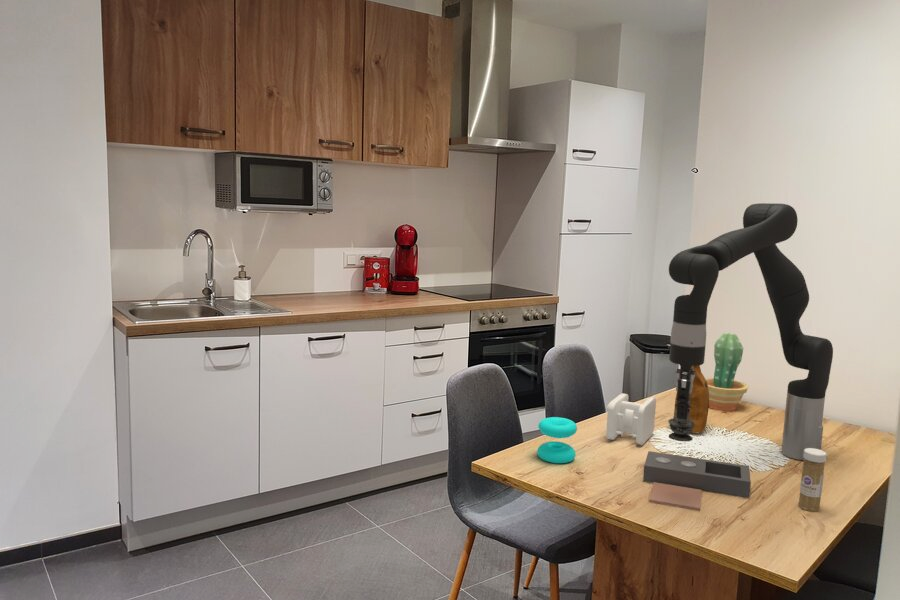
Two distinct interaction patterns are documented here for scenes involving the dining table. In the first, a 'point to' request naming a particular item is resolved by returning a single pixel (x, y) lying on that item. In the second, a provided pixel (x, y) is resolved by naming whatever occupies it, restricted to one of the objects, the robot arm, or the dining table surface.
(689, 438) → the dark chess piece
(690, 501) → the tile pad
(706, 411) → the coffee package
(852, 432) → the dining table surface
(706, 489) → the socket strip
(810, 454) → the sprinkles bottle
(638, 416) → the cable organizer
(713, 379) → the potted cactus
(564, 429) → the donuts
